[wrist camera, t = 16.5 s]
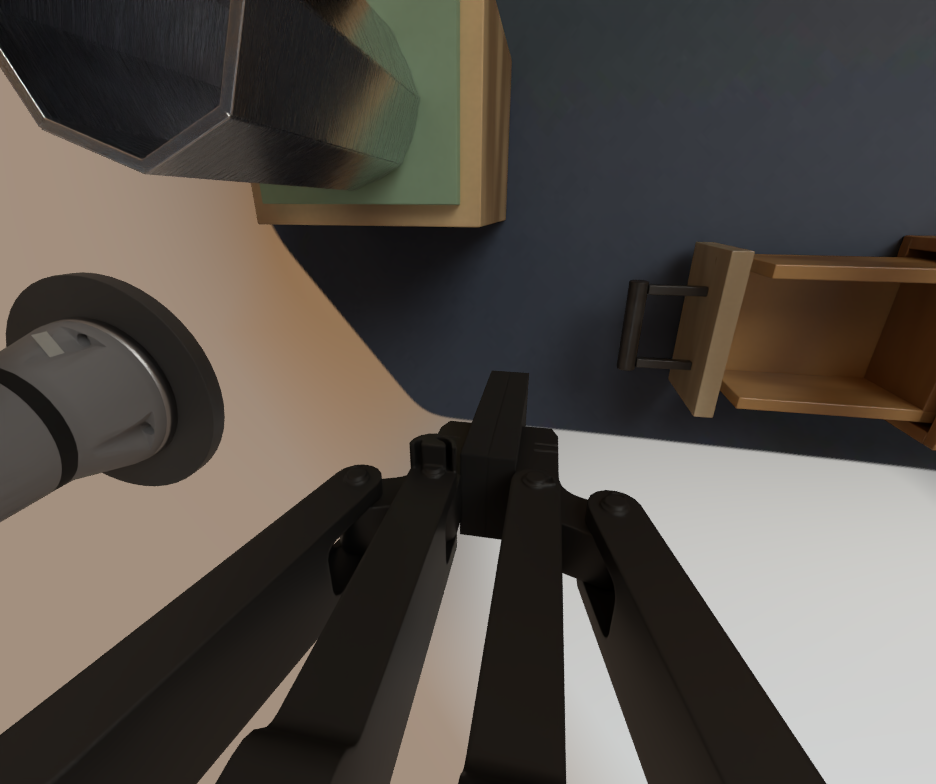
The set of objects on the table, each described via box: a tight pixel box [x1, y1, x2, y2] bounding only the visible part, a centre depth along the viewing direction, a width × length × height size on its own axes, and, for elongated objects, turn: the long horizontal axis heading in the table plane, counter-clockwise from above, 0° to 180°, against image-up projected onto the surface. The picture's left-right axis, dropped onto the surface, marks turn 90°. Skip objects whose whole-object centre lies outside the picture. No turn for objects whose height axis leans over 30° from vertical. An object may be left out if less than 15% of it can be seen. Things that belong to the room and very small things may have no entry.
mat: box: [259, 0, 460, 205], centre depth 20 cm, size 10×8×1 cm
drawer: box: [617, 242, 936, 423], centre depth 29 cm, size 18×10×7 cm, turn 90°
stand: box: [251, 0, 512, 227], centre depth 26 cm, size 12×10×13 cm
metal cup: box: [0, 0, 420, 191], centre depth 14 cm, size 6×6×12 cm
